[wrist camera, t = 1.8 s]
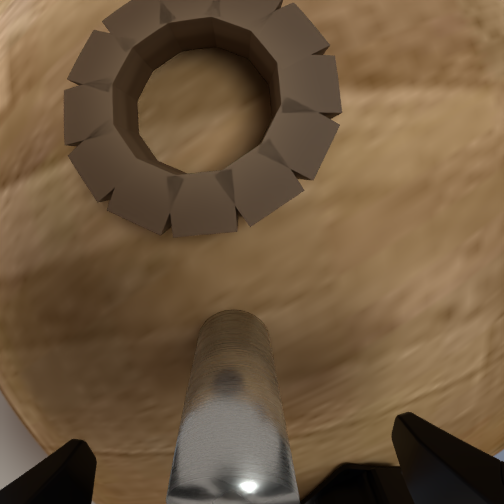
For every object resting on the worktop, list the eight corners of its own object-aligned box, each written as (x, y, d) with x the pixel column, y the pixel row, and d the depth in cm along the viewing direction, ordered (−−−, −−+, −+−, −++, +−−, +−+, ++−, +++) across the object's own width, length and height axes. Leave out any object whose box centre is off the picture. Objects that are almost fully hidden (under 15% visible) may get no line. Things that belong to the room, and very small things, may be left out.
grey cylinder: (250, 378, 13) (262, 537, 6) (188, 355, 13) (153, 514, 5) (282, 326, 13) (325, 488, 5) (215, 298, 12) (189, 461, 5)
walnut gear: (257, 258, 12) (262, 281, 10) (66, 171, 11) (30, 173, 8) (351, 65, 10) (377, 43, 8) (159, -9, 9) (145, -41, 7)
